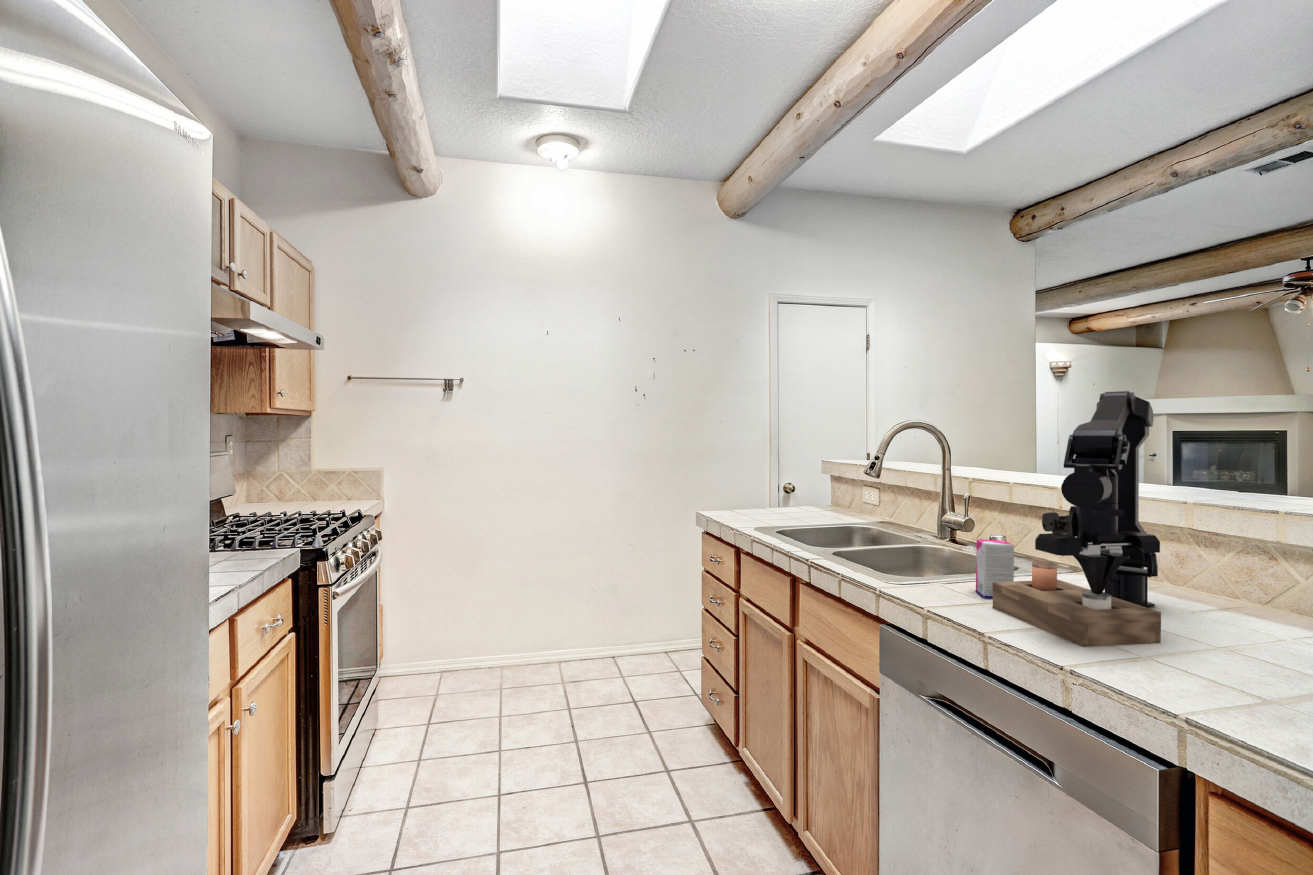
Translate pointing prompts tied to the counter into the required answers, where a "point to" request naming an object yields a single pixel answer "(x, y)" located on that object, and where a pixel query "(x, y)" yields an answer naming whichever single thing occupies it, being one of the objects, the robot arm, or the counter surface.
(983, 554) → the supplement box
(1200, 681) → the counter surface
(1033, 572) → the terracotta plug
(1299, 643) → the counter surface
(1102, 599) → the plug
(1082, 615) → the wooden holder block
